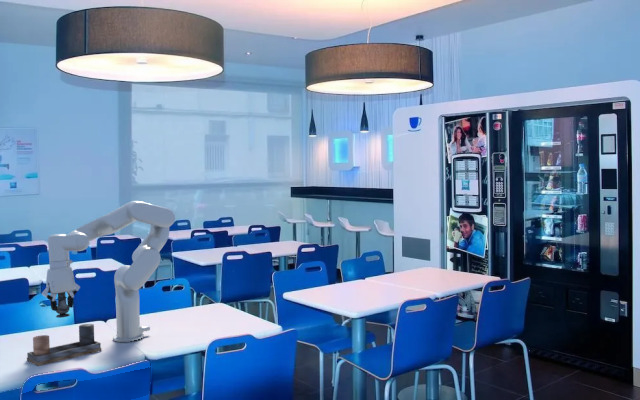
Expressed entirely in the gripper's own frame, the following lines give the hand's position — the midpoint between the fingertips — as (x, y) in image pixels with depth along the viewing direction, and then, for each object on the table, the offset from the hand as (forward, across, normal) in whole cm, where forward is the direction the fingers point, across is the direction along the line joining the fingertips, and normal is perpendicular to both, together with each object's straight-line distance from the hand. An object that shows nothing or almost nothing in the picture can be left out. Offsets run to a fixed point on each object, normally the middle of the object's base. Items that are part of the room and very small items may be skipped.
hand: (62, 308), depth 246 cm
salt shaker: (+3, 0, 0) cm, 3 cm away
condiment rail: (+16, +5, +10) cm, 20 cm away
